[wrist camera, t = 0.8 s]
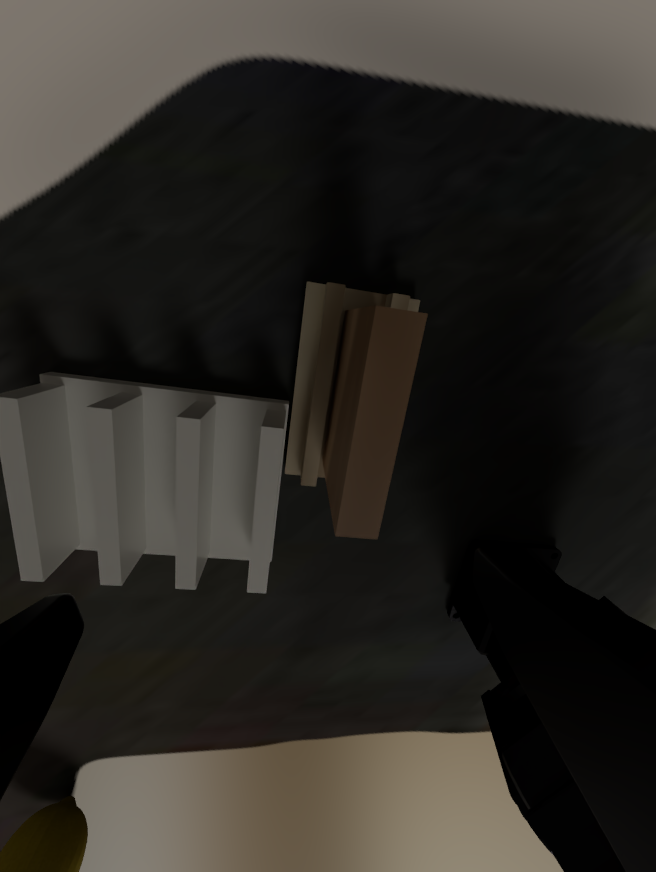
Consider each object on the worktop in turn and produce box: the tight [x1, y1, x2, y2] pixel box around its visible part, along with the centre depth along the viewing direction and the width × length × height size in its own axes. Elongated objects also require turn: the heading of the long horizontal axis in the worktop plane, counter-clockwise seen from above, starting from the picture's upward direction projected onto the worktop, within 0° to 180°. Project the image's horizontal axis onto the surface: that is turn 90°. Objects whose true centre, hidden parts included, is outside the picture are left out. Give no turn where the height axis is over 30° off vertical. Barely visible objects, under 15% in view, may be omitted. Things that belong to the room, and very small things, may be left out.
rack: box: [0, 372, 289, 593], centre depth 18 cm, size 12×10×4 cm
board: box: [323, 305, 428, 539], centre depth 15 cm, size 2×8×7 cm, turn 172°
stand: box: [285, 282, 420, 486], centre depth 18 cm, size 6×10×2 cm, turn 172°
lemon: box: [0, 796, 88, 872], centre depth 24 cm, size 6×6×8 cm
